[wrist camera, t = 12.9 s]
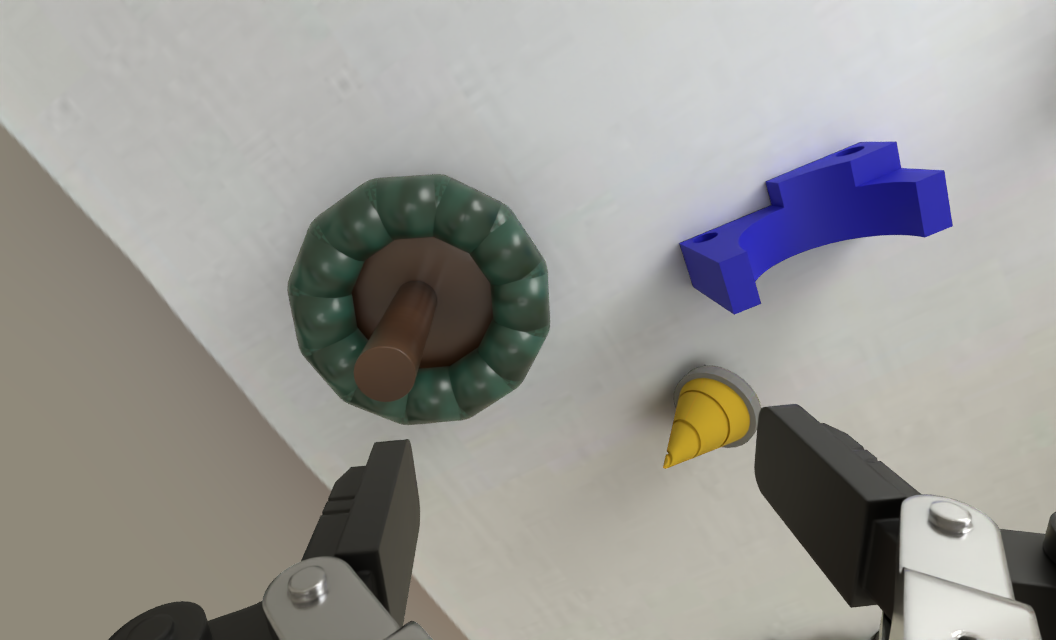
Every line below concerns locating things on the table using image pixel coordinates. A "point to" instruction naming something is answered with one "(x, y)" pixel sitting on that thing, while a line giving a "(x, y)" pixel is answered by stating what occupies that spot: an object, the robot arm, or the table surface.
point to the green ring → (420, 213)
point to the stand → (417, 313)
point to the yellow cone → (711, 413)
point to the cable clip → (817, 218)
